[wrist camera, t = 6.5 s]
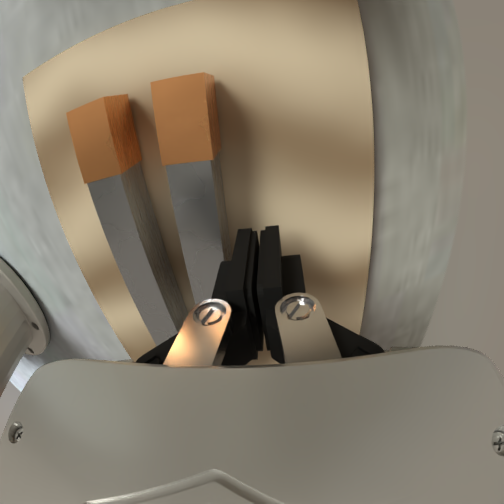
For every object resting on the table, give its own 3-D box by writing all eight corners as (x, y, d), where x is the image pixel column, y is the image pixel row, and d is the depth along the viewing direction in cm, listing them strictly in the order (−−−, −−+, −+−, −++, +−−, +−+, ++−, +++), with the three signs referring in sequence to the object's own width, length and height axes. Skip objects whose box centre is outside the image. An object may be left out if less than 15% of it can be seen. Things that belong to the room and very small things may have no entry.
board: (345, 380, 21) (347, 392, 20) (163, 389, 23) (160, 399, 22) (347, -3, 8) (354, -11, 7) (36, 75, 10) (22, 77, 9)
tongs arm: (252, 391, 20) (252, 415, 18) (209, 390, 20) (206, 413, 18) (214, 75, 9) (203, 72, 8) (135, 90, 10) (111, 92, 8)
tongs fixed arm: (214, 372, 19) (210, 397, 17) (189, 372, 19) (184, 396, 17) (127, 93, 10) (103, 96, 8) (93, 106, 10) (65, 112, 8)
